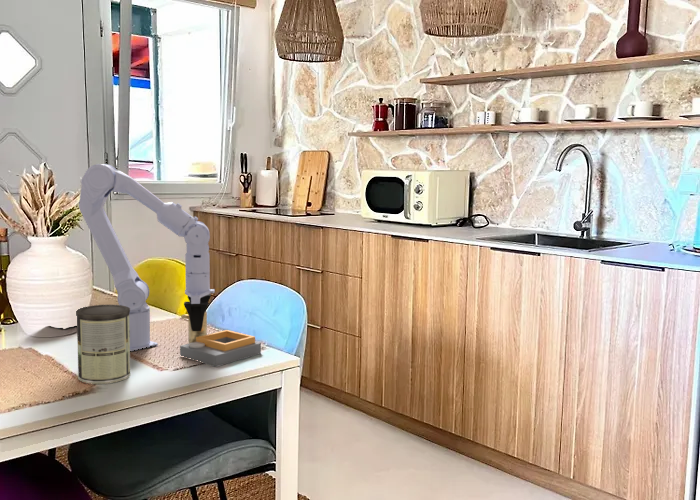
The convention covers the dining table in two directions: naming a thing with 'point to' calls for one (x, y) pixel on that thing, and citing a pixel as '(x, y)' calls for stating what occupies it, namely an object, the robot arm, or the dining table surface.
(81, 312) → the coffee can
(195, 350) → the grey base with frame
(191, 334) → the spout can
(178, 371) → the dining table surface
